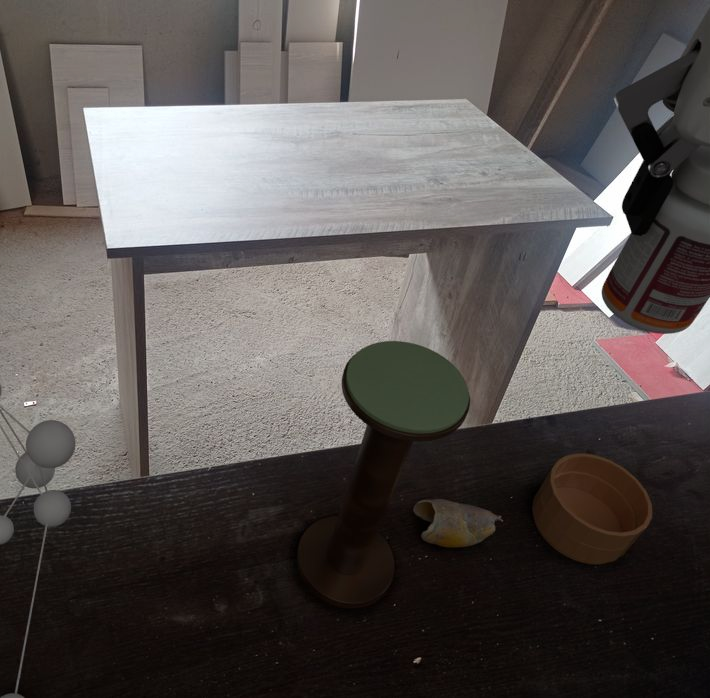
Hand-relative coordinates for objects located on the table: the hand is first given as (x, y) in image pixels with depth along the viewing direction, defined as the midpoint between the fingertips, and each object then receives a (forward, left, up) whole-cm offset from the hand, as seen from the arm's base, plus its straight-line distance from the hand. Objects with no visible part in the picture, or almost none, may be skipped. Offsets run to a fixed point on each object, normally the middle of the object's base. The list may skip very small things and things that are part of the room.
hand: (689, 231), depth 46 cm
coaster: (+10, +13, -12) cm, 20 cm away
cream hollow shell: (+4, +3, -36) cm, 36 cm away
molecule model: (+32, +36, -37) cm, 61 cm away
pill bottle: (0, 0, -7) cm, 7 cm away
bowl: (-5, -7, -36) cm, 37 cm away
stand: (+10, +13, -36) cm, 40 cm away
